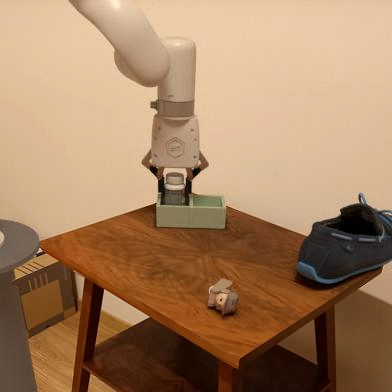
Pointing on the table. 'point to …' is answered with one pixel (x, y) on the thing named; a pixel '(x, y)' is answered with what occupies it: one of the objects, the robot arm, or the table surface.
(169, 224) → the rack
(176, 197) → the pill bottle
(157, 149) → the robot arm
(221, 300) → the toy character
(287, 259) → the table surface
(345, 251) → the moccasin
